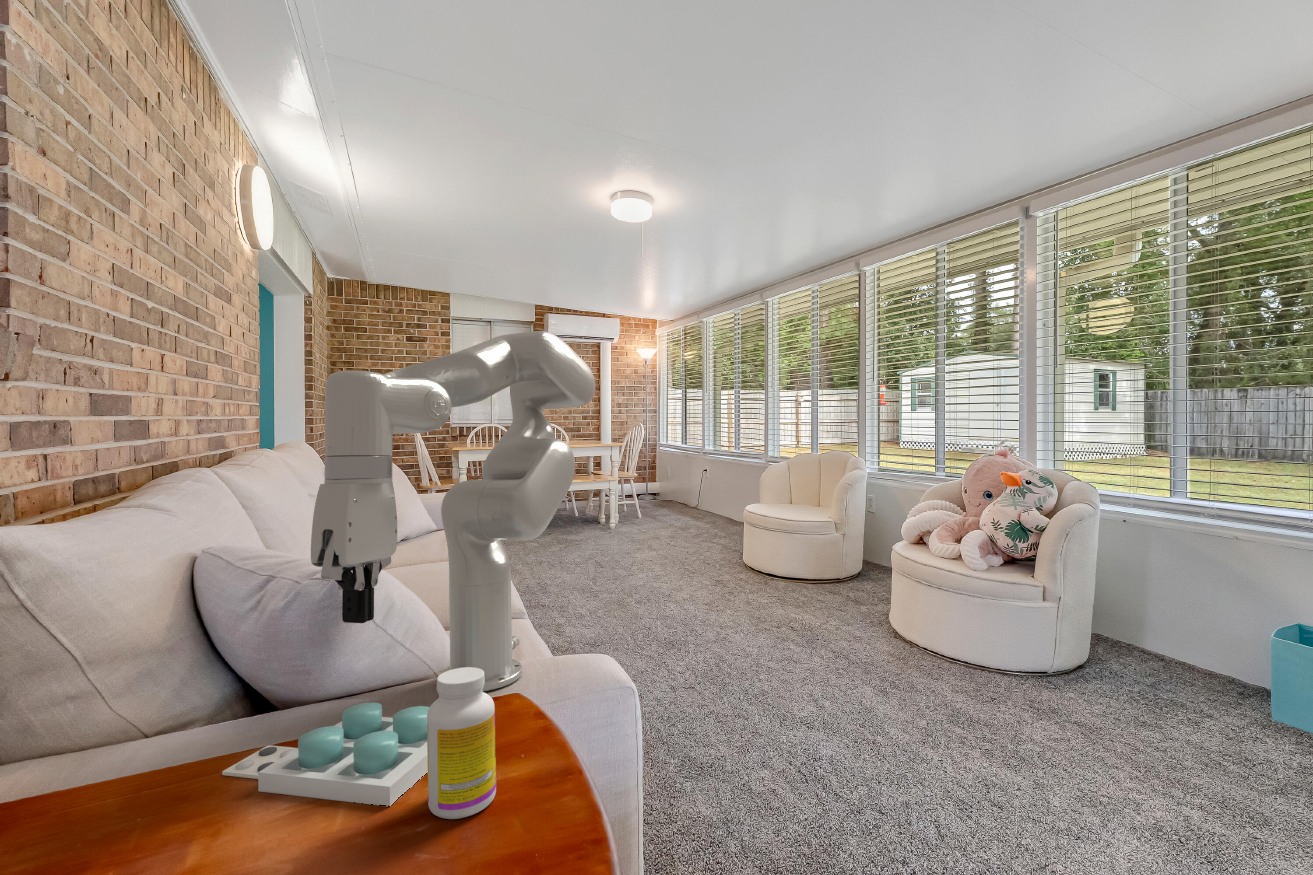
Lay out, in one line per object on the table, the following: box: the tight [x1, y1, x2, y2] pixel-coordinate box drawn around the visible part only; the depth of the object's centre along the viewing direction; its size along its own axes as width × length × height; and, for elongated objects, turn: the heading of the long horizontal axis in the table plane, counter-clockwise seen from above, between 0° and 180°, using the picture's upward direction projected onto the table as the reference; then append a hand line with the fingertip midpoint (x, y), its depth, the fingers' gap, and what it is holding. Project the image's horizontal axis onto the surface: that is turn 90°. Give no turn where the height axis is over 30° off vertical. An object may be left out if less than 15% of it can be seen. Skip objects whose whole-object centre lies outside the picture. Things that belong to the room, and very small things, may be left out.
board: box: [257, 716, 428, 807], centre depth 67 cm, size 14×16×2 cm
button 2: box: [341, 701, 383, 739], centre depth 71 cm, size 4×4×2 cm
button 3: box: [353, 731, 398, 774], centre depth 64 cm, size 4×4×2 cm
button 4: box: [392, 705, 430, 744], centre depth 70 cm, size 4×4×2 cm
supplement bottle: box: [427, 667, 497, 820], centre depth 60 cm, size 7×7×13 cm
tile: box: [221, 744, 298, 780], centre depth 68 cm, size 6×6×1 cm
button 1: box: [297, 725, 344, 768], centre depth 65 cm, size 4×4×2 cm
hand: (358, 620), depth 71 cm, fingers closed
